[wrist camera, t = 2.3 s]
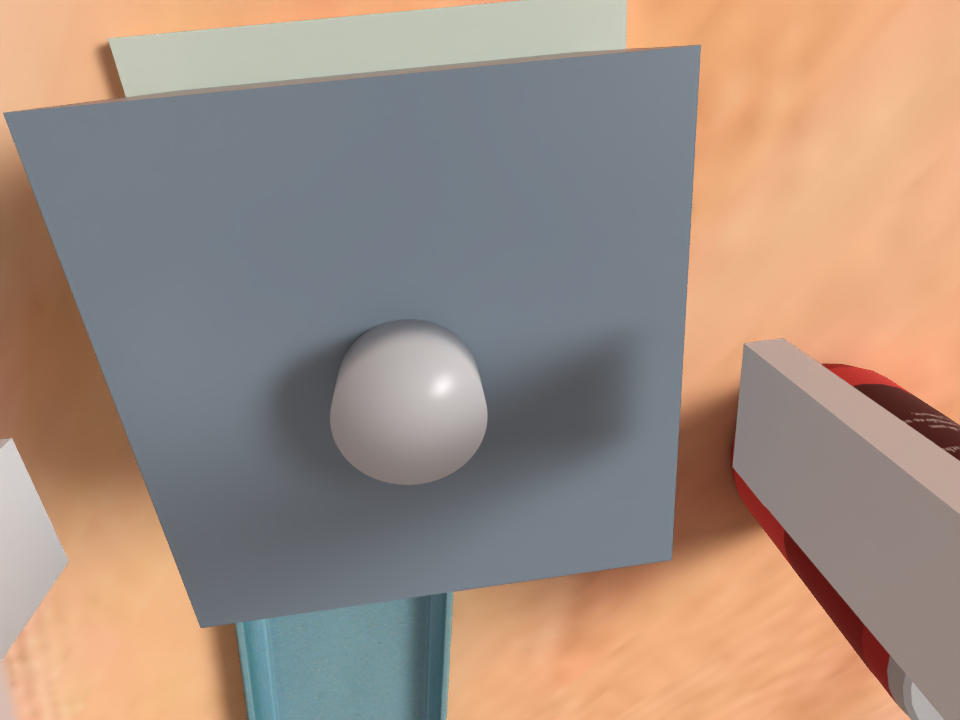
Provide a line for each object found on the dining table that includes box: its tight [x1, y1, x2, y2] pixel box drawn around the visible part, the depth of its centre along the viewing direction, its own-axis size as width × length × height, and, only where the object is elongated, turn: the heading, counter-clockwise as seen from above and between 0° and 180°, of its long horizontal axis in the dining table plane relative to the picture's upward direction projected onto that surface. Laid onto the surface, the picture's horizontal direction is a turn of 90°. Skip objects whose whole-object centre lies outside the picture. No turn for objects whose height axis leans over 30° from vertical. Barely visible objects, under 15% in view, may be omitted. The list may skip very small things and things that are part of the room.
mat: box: [108, 0, 627, 97], centre depth 22 cm, size 15×15×1 cm
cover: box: [3, 45, 701, 628], centre depth 17 cm, size 12×12×10 cm
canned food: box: [731, 364, 960, 720], centre depth 23 cm, size 8×8×11 cm
